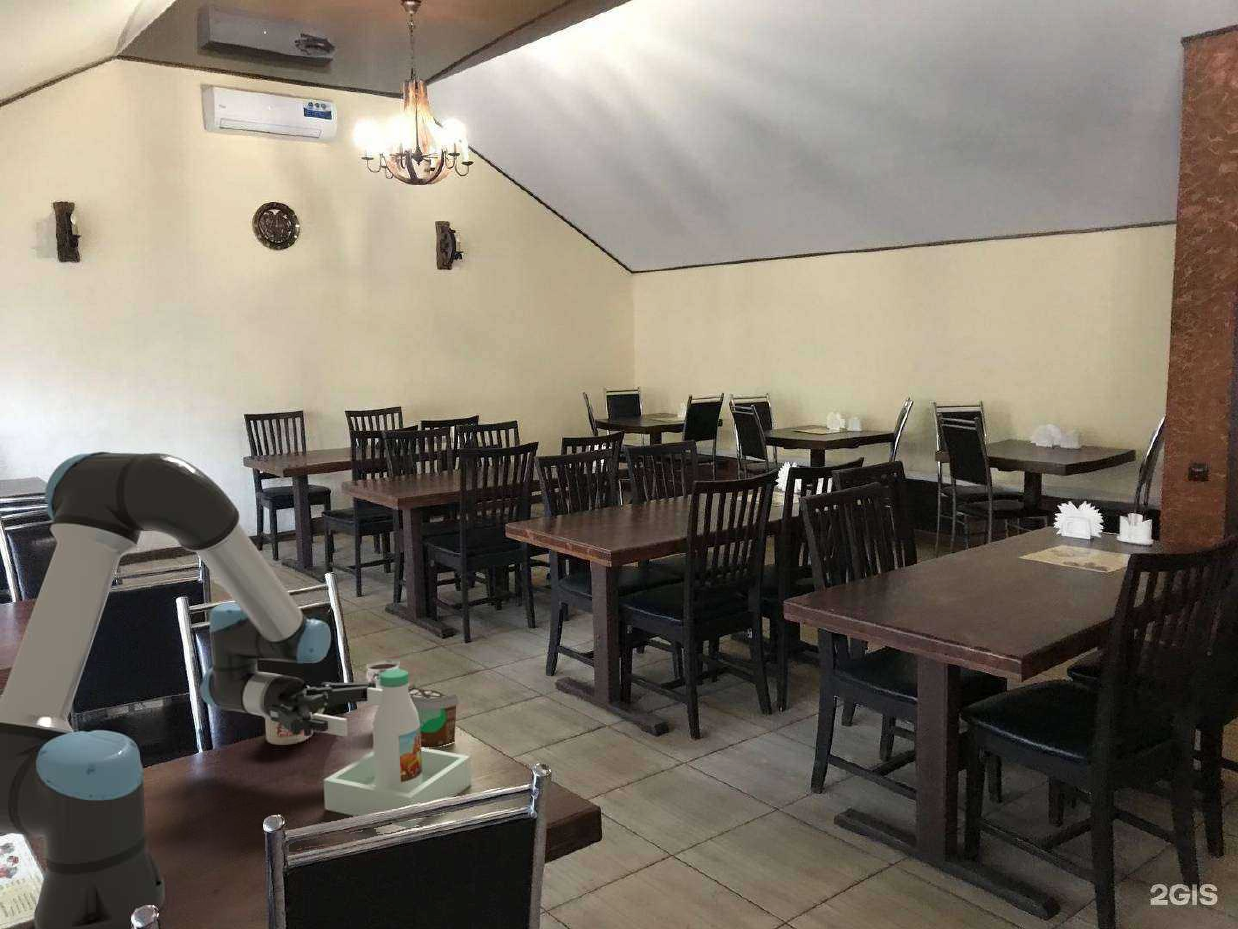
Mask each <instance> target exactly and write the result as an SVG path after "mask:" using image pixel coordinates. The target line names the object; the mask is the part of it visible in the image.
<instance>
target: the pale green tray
mask: <svg viewBox="0 0 1238 929" xmlns="http://www.w3.org/2000/svg"><path fill="white" fill-rule="evenodd" d="M421 757H422V784H421V785H420V786H418V787H417V788H415V789H414V790H412V791H411V792H410V793H405V792H400V791H395V790H390V789H385V788H380V787H376V786H375V774H374V750H372V751H371V752H369V753H367V754H366V755H363V757H361V758H359V759H356V760H355V761H353V762H352V763H350V764H349V765H347V766H345V767H344V768H341V769H340V770H337V771H336V772H335V773H333V774H331V775H330V776H328V777H326V778H324V779H323V791H324V792H323V794H324V809H325V811H326V810H327V811H331V812H335V813H340V814H345V815H350V816H354V817H357V816H356V815H363V814H368V813H374V812H379V811H384V810H390V809H398V808H401V807H405V806H409V805H413V804H417V803H426V802H430V801H433V800H436V799H441V798H445V797H453V796H455V797H456V796H457V795H458V794H457V793H459V794H460V793H462V792H463V791H465V789H467V788H468V787H470V786H471V785H472V770H471V768H472V766H471V765H472V764H471V755H466V754H460V753H454V752H449V751H443V750H438V749H434V748H422V747H421ZM453 798H454V797H453ZM426 818H427V817H425V818H422V819H416V820H411V821H405V822H398V823H392V824H391V825H393V826H398V827H402V828H406V829H414V827H416V826H417V825H418V824H419V823H421V822H422V821H424V820H425V819H426Z"/></svg>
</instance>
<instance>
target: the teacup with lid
mask: <svg viewBox="0 0 1238 929" xmlns="http://www.w3.org/2000/svg"><path fill="white" fill-rule="evenodd" d="M307 687H308V688H309V687H310V686H309V685H307ZM324 710H325V708H322V709H317V710H316V712H315V713H318V714H323V712H324ZM310 714H311V718H313V712H310ZM264 720H265V736H266V737H265V738H266V741H267V742H268V743H269V744H272V745H277V746H287V745H294V744H298V742H299V743H302V742H304V741H307V740H308V739H309V737H310V738H311V737H312V735H313V734H314V731H313V730H312V735H310V736H304V730H302V731H301V733H300V734H298V735H294V734H292V733H291V732H290V731H288V730H287V729H286V728H285V727H284V726H282V725H281V724H280V723H279V722H275V721H272V720H271V717H268V718H264ZM306 739H307V740H306Z"/></svg>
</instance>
